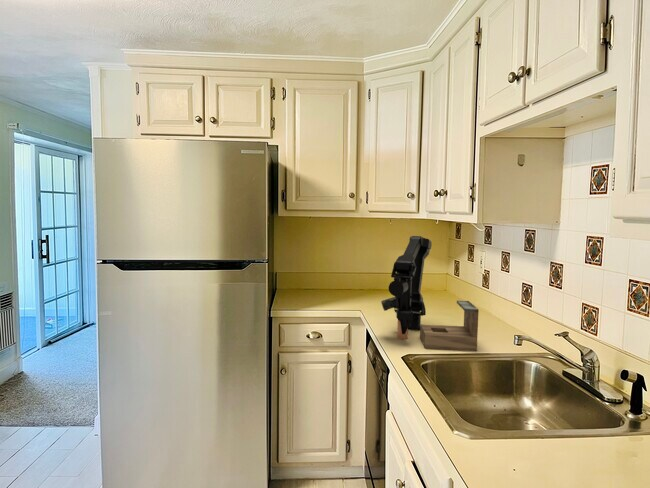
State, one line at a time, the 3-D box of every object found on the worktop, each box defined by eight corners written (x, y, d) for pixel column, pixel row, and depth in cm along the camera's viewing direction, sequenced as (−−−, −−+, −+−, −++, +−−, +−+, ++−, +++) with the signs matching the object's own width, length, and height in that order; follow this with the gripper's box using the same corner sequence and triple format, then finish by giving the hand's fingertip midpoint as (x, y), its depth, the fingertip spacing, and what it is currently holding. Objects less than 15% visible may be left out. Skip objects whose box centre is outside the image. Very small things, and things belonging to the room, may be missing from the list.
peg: (396, 335, 162) (397, 316, 161) (407, 336, 162) (407, 316, 161) (397, 339, 158) (398, 318, 157) (408, 339, 158) (408, 319, 157)
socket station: (419, 336, 161) (421, 299, 160) (467, 339, 159) (468, 300, 158) (425, 348, 147) (426, 307, 146) (476, 351, 146) (478, 309, 144)
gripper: (381, 286, 168) (380, 324, 170) (383, 295, 150) (382, 337, 151) (409, 287, 167) (408, 325, 169) (414, 296, 149) (413, 339, 150)
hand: (402, 331), depth 160 cm, fingers open, 7 cm apart
